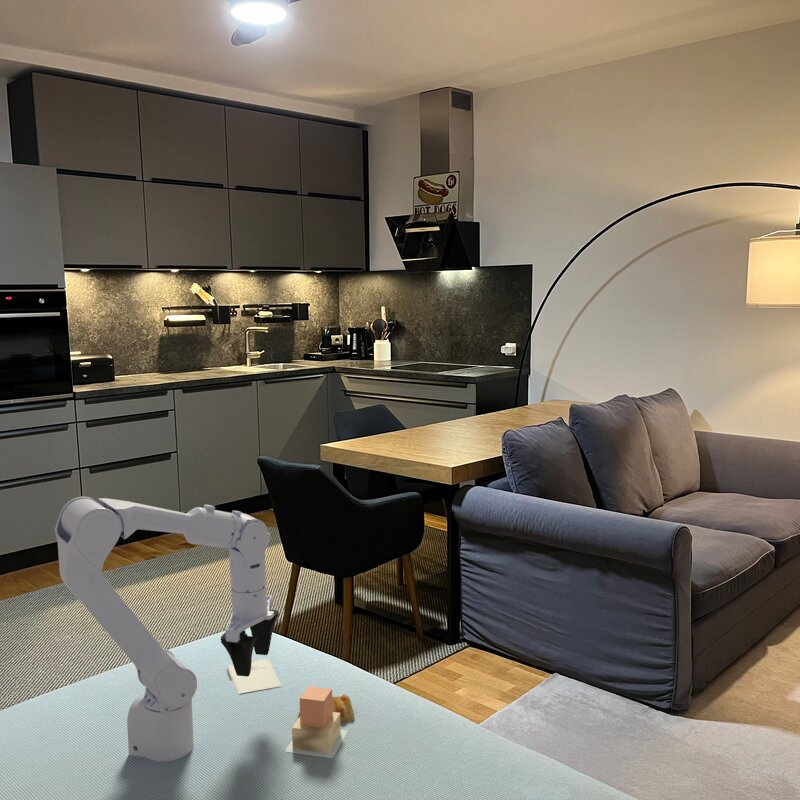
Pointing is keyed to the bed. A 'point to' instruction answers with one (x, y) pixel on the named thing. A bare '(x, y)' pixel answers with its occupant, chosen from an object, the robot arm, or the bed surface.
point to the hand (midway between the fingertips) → (252, 664)
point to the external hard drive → (255, 677)
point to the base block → (316, 735)
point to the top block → (316, 707)
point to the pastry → (342, 708)
